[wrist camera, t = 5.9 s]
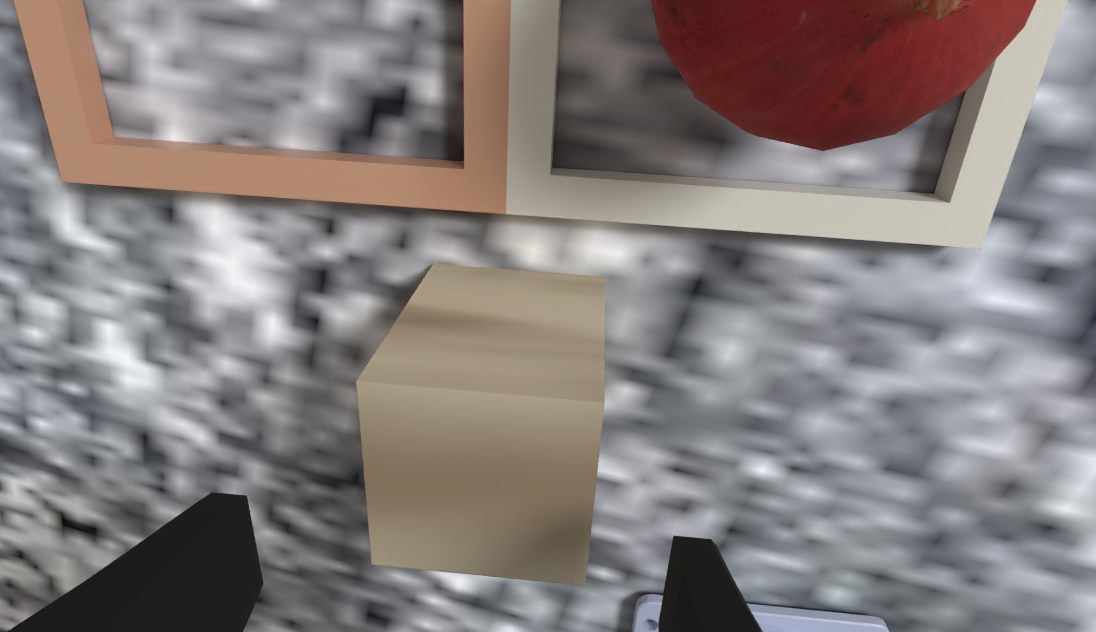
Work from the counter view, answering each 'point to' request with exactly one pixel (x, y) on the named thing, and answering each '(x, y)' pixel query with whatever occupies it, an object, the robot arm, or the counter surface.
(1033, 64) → the cream frame
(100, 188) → the counter surface
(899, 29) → the onion
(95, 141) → the terracotta frame
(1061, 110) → the counter surface
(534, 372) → the birch block
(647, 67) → the counter surface
